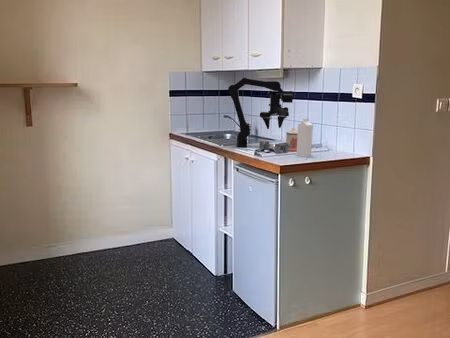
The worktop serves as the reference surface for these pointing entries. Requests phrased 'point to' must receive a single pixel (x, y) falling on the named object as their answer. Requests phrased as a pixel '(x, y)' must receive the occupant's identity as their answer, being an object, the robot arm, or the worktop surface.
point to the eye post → (285, 148)
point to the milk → (304, 138)
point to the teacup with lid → (291, 136)
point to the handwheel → (293, 146)
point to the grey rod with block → (267, 145)
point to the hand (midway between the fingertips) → (273, 128)
